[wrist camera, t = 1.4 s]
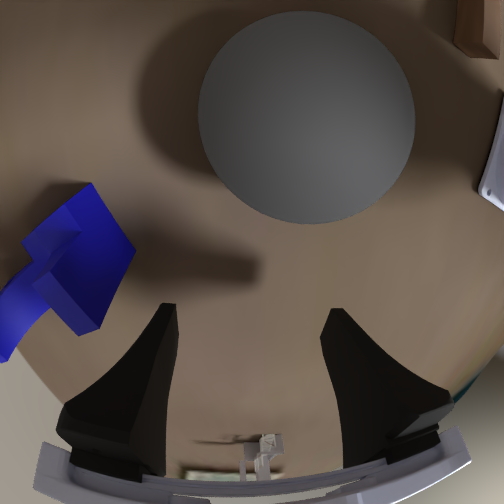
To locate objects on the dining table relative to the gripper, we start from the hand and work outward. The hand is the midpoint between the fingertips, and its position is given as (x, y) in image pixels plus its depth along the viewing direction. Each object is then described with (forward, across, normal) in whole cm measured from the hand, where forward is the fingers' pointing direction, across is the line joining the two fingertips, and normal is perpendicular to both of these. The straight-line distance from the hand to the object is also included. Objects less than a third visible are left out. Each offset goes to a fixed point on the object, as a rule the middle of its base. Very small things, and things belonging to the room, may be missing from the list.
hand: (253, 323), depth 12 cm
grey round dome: (+4, -1, -9) cm, 10 cm away
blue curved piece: (+4, +13, 0) cm, 13 cm away
